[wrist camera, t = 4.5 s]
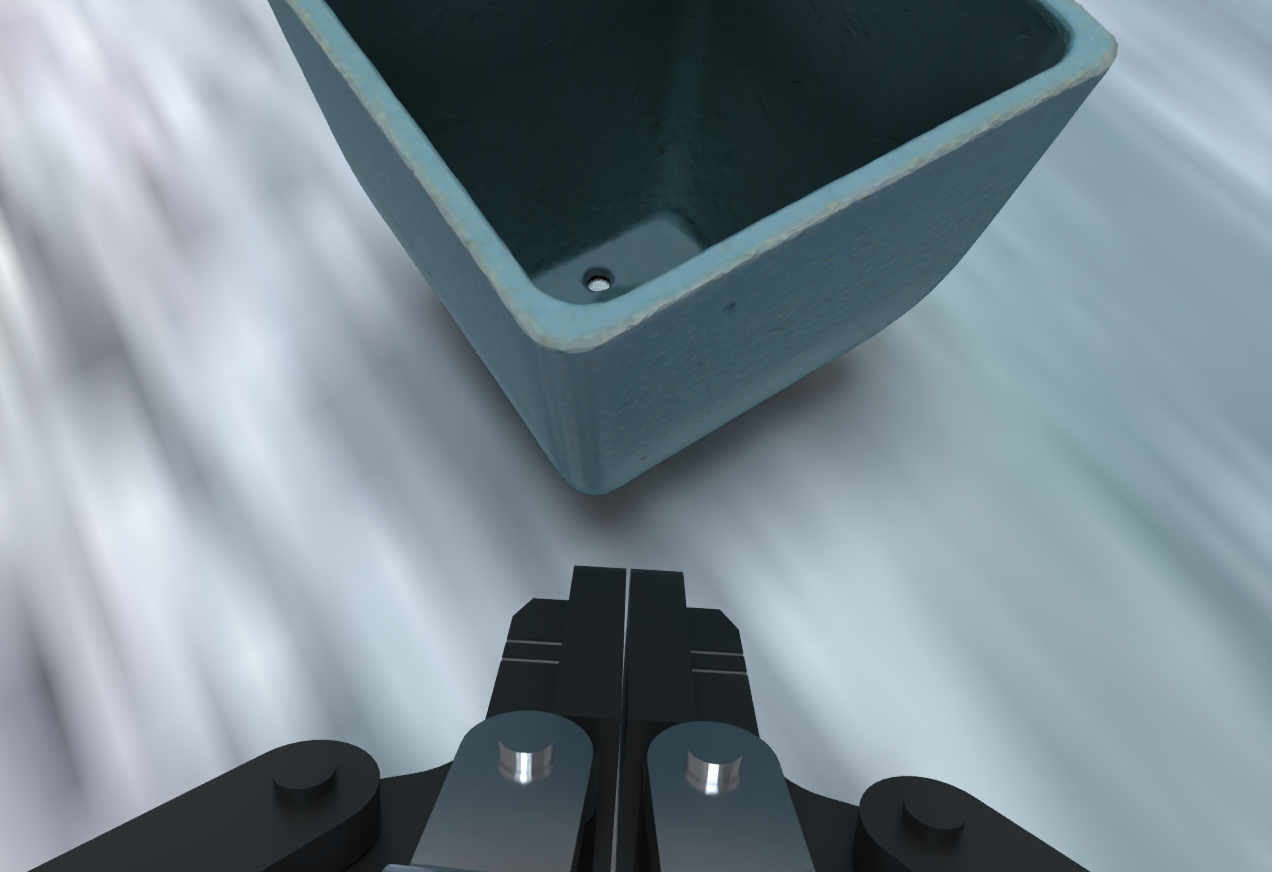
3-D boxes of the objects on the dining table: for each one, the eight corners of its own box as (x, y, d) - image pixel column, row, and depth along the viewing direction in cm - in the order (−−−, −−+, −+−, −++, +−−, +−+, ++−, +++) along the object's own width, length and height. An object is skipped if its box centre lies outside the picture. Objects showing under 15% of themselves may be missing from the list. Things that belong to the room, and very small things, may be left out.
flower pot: (355, 287, 21) (208, -110, 13) (683, 131, 23) (732, -282, 15) (568, 616, 18) (551, 362, 10) (921, 394, 20) (1140, 47, 12)
